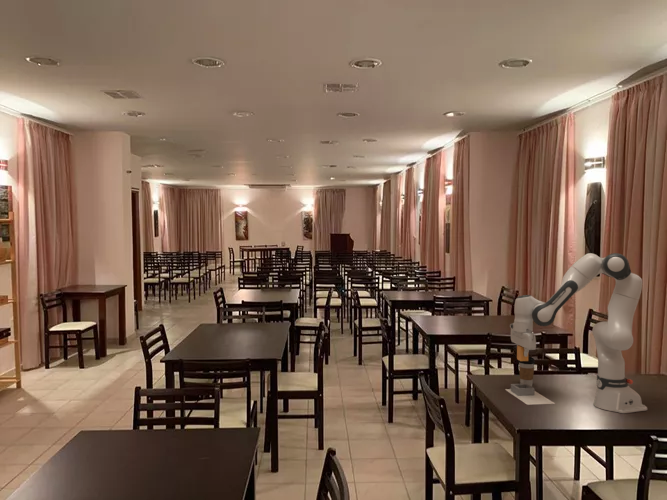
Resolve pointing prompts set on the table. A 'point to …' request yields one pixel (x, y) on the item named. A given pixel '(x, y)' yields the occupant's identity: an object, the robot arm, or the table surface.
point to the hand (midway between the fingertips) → (522, 354)
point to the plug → (521, 354)
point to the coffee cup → (526, 371)
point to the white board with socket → (528, 394)
